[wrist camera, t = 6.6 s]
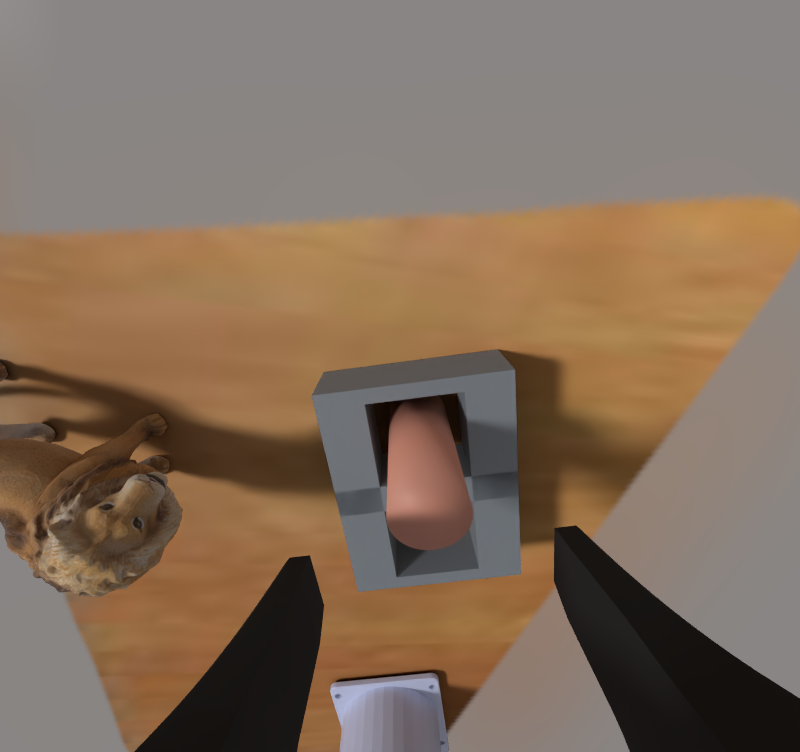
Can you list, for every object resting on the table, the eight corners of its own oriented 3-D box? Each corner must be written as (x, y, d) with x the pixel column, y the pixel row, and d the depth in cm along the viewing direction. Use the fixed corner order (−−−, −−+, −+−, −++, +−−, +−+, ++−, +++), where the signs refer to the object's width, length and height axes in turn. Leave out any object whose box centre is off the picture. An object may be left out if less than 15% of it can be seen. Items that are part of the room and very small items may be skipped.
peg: (447, 433, 21) (476, 544, 14) (394, 440, 21) (393, 554, 14) (441, 383, 20) (469, 475, 13) (385, 391, 20) (379, 486, 13)
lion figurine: (240, 410, 21) (131, 535, 12) (229, 489, 22) (130, 646, 14) (-57, 344, 19) (-412, 433, 11) (-42, 434, 21) (-336, 572, 12)
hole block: (506, 533, 24) (520, 574, 21) (362, 549, 24) (358, 591, 21) (497, 349, 19) (515, 369, 17) (323, 372, 20) (311, 395, 17)
